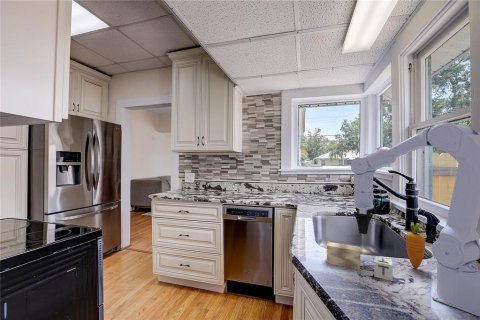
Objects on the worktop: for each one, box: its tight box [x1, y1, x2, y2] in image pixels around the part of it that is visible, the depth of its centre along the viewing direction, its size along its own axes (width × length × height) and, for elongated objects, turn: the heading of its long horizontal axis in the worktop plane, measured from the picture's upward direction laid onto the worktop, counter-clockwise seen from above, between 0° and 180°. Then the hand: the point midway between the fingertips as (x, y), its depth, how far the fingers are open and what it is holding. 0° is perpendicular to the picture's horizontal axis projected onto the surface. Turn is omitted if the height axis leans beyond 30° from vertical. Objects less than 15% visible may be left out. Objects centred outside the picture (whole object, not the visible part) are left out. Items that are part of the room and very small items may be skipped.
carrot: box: [405, 222, 426, 270], centre depth 71 cm, size 5×5×15 cm
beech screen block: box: [326, 241, 361, 271], centre depth 74 cm, size 10×4×6 cm, turn 62°
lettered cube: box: [373, 256, 394, 281], centre depth 67 cm, size 4×5×5 cm
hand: (363, 230), depth 77 cm, fingers open, 7 cm apart
